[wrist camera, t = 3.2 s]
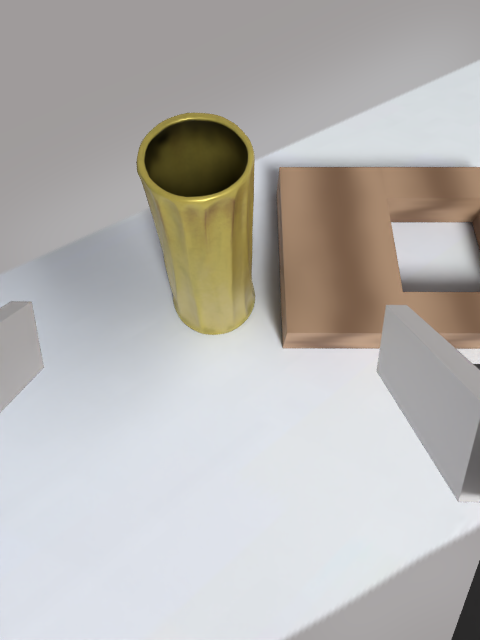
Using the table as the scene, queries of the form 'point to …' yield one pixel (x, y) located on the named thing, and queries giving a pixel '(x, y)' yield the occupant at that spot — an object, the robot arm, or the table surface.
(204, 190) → the vase
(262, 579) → the table surface
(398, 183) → the frame
